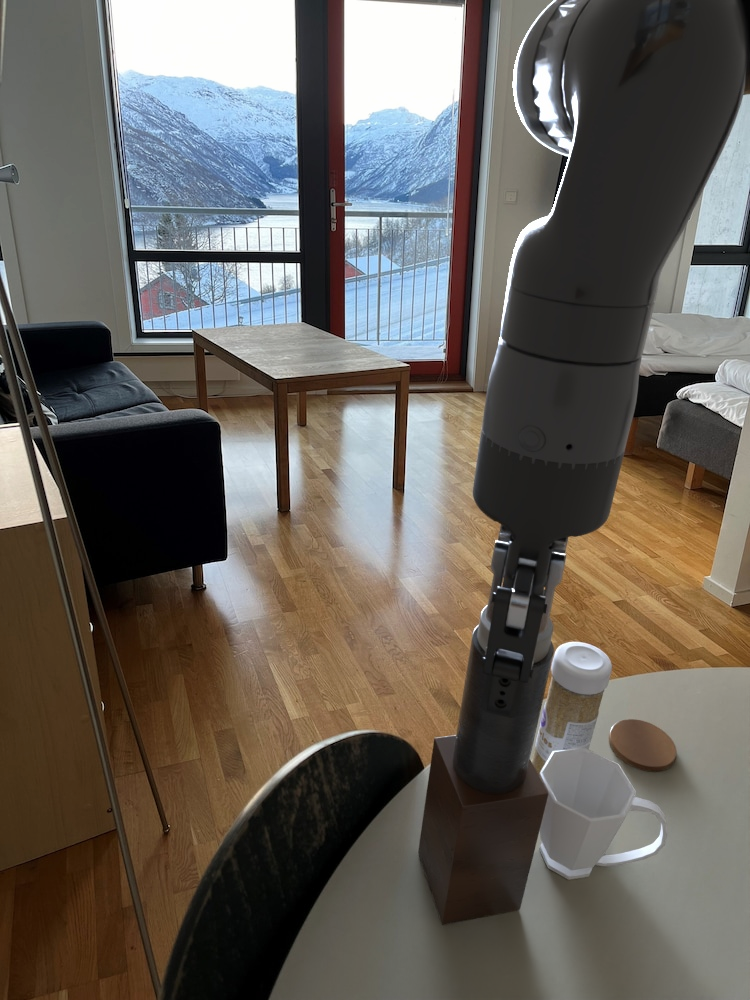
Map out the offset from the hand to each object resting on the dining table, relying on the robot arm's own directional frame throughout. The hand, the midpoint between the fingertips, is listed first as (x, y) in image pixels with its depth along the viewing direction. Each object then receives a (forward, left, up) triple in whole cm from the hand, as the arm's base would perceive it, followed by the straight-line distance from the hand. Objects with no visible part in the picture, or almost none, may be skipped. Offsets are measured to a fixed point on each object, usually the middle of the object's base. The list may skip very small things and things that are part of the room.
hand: (506, 676), depth 46 cm
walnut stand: (0, 0, -20) cm, 20 cm away
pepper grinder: (0, 0, -8) cm, 8 cm away
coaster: (-21, -10, -20) cm, 30 cm away
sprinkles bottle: (-11, -8, -20) cm, 24 cm away
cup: (-10, 0, -20) cm, 22 cm away
